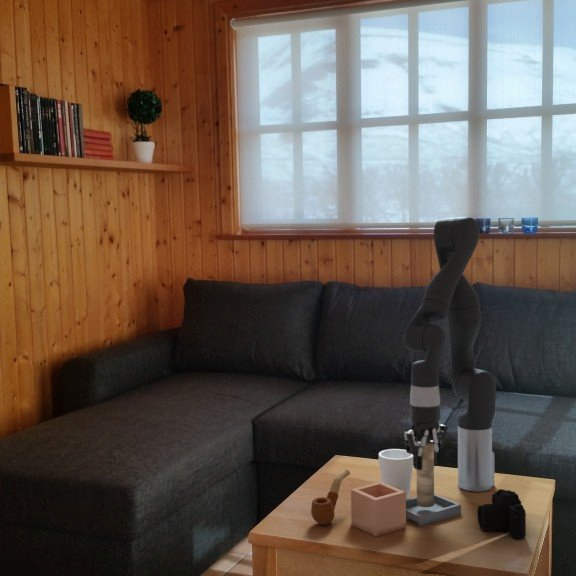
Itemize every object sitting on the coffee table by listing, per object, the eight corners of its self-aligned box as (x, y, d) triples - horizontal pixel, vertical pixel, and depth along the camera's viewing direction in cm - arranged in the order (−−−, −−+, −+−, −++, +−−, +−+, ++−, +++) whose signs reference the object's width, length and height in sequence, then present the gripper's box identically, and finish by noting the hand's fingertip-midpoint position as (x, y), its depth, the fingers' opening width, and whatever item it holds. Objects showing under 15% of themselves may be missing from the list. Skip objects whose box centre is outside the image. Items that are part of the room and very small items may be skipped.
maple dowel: (425, 499, 207) (425, 440, 206) (437, 504, 204) (437, 444, 202) (413, 503, 205) (412, 443, 204) (424, 508, 201) (424, 446, 200)
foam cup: (413, 508, 208) (412, 460, 207) (378, 506, 210) (377, 458, 209) (414, 495, 218) (414, 449, 217) (381, 494, 220) (380, 448, 218)
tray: (431, 501, 213) (431, 492, 213) (461, 513, 204) (461, 504, 204) (391, 513, 205) (391, 503, 205) (420, 526, 196) (420, 516, 196)
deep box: (381, 515, 204) (380, 481, 203) (406, 527, 196) (405, 492, 195) (351, 524, 199) (350, 489, 198) (375, 536, 191) (375, 500, 190)
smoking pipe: (332, 531, 196) (310, 529, 198) (353, 487, 212) (332, 486, 214) (328, 507, 194) (306, 505, 196) (349, 465, 210) (328, 464, 212)
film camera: (470, 517, 201) (470, 483, 201) (507, 515, 202) (507, 481, 201) (490, 542, 186) (490, 505, 186) (530, 539, 187) (530, 502, 186)
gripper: (435, 395, 209) (435, 459, 211) (393, 403, 201) (394, 469, 203) (455, 400, 203) (455, 466, 204) (413, 409, 195) (414, 476, 197)
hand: (425, 467), depth 204 cm, fingers closed on maple dowel, 4 cm apart
